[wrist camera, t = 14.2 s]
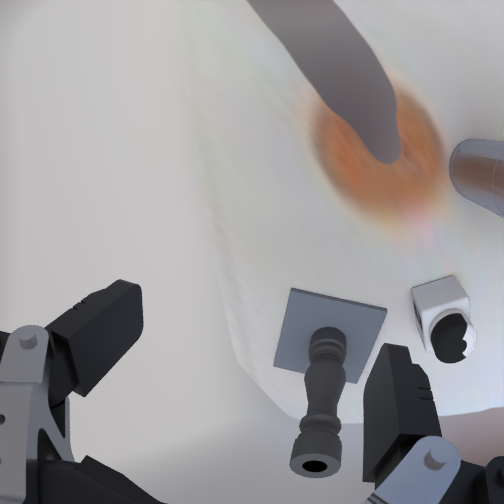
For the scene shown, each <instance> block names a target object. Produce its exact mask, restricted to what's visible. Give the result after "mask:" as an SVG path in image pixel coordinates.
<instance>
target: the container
mask: <svg viewBox="0 0 504 504" xmlns="http://www.w3.org/2000/svg"><path fill="white" fill-rule="evenodd" d="M411 292H412V298H413V304H414V311H415V317H416V324H417V328H418V331H419V334H420V337H421V339H422V342H423V345H424V348H425V351H426V352H431V351H434V352H435V355H436V357H437V358H438V360H440V361H441V362H444V363H456V362H459V361H461V360H463V359H465V358H466V357H467V356H468V355H469V354H470V353H471V352H472V351H473V349H474V347H475V345H476V342H477V332H476V330H475V328H474V326H473V325H472V323H471V321H470V303H469V296H468V295H467V293H466V292H465V291H464V289H463V288H462V287H461V285H460V284H459V283H458V281H457V280H456V279H455V277H454V276H450V277H447V278H443V279H440V280H437V281H434V282H431V283H428V284H424V285H421V286H418V287H414V288H412V289H411Z"/></svg>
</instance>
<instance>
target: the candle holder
mask: <svg viewBox="0 0 504 504" xmlns="http://www.w3.org/2000/svg"><path fill="white" fill-rule="evenodd" d="M308 354H309V361H310V366H309V367H308V369H307V370H306V373H305V377H304V381H305V386H306V392H307V398H308V409H307V415H306V416H304V417H303V418H302V419H301V422H300V425H299V428H300V431H301V432H302V433H300V434H299V435H298V438H297V439H295V442H294V445H293V450H292V454H291V460H290V464H289V465H290V468H291V470H292V471H294V472H295V473H296V474H299V475H301V476H304V477H309V478H323V477H328V476H331V475H333V474H335V473H337V472H338V470H339V469H340V465H341V453H342V444H341V441H340V439H339V436H338V435H337V434H338V433H339V431H340V430H341V422H340V420H339V418H338V417H337V404H338V401H339V399H340V396H341V393H342V391H343V388H344V385H345V382H346V372H345V369H344V368H343V367H342V366H343V364H344V361H345V357H346V354H347V344H346V336H345V335H344V334H343V332H342V331H340V330H339V329H337V328H334V327H323V328H320V329H318V330H316V331H315V332H314V333H313V335H312V336H311V340H310V345H309V351H308Z"/></svg>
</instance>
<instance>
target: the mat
mask: <svg viewBox="0 0 504 504" xmlns="http://www.w3.org/2000/svg"><path fill="white" fill-rule="evenodd" d="M386 314H387V309H386V308H381V307H376V306H372V305H367V304H362V303H358V302H353V301H348V300H344V299H339V298H335V297H330V296H325V295H321V294H317V293H312V292H308V291H303V290H299V289H294V288H291V292H290V297H289V301H288V306H287V310H286V314H285V319H284V323H283V327H282V332H281V336H280V340H279V344H278V348H277V352H276V357H275V361H274V365H273V366H274V367H278V368H283V369H287V370H291V371H296V372H300V373H306V370H307V369H308V367H309V366H310V361H309V354H308V351H309V345H310V340H311V336H312V335H313V333H314V332H315V331H316V330H318V329H320V328H323V327H334V328H337V329H339V330H340V331H342V332H343V334H344V335H345V336H346V344H347V354H346V357H345V361H344V364H343V366H342V367H343V368H344V369H345V372H346V382H350V383H355V384H357V382H358V380H359V378H360V376H361V374H362V372H363V369H364V367H365V365H366V363H367V360H368V358H369V356H370V354H371V351H372V349H373V347H374V344H375V342H376V339H377V337H378V334H379V332H380V329H381V327H382V324H383V322H384V319H385V317H386Z"/></svg>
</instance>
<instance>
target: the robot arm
mask: <svg viewBox="0 0 504 504" xmlns="http://www.w3.org/2000/svg"><path fill="white" fill-rule="evenodd" d="M450 176H451V180H452V182H453V185H454V187H455V188H456V190H457V191H458V192H459V193H460V194H461V195H462V196H464V197H465V198H467V199H469V200H471V201H473V202H475V203H476V204H478V205H480V206H482V207H484V208H486V209H488V210H490V211H492V212H494V213H495V214H497V215H499V216H501V217H503V218H504V141H496V140H481V139H470V140H466V141H464V142H462V143H461V144H459V145H458V146H457V147H456V149H455V150H454V152H453V154H452V157H451V160H450ZM142 330H143V307H142V291H141V287H140V286H139V285H138V284H134V283H131V282H127V281H124V280H121V279H119V280H117V281H115V282H114V283H112V284H111V285H110V286H108V287H107V288H106V289H102V290H99V291H97V292H94V293H91V294H90V295H88V296H87V297H85V298H84V299H83V300H81V302H78V303H77V304H76V305H74V306H73V308H70V309H69V310H68V311H66V312H65V313H64V314H62V315H61V316H59V317H58V318H57V319H56V320H54V321H53V322H52V323H50V324H49V325H47V326H46V327H45V328H43V327H41V326H36V325H27V326H23V327H20V328H18V329H16V330H15V331H14V332H12V333H7V332H2V331H0V504H165V503H162V502H160V501H158V500H156V499H155V498H153V497H152V496H150V495H149V494H148V493H146V492H145V491H144V490H142V489H141V488H140V487H138V486H137V485H136V484H134V483H133V482H132V481H131V480H129V479H128V478H127V477H125V476H124V475H123V474H121V473H119V472H117V471H115V470H113V469H111V468H110V467H108V466H106V465H104V464H102V463H100V462H98V461H97V460H95V459H93V458H91V457H89V456H88V455H86V456H85V458H84V459H83V460H82V462H81V463H78V462H75V461H74V457H73V454H72V451H71V445H70V418H69V417H70V415H69V414H70V413H69V412H70V408H69V405H70V402H69V398H68V395H69V394H70V393H71V392H72V391H74V392H75V393H77V394H79V395H81V396H83V397H86V395H87V394H88V393H89V392H90V391H91V390H92V389H93V388H94V387H95V386H96V385H97V383H98V382H99V381H100V380H101V379H102V378H103V377H104V376H105V375H106V374H107V373H108V371H109V370H110V369H111V368H112V367H113V366H114V365H115V364H116V363H117V362H118V361H119V360H120V358H121V357H122V356H123V355H124V354H125V353H126V352H127V351H128V350H129V349H130V348H131V347H132V346H133V344H134V343H135V342H136V341H137V340H138V339H139V337H140V336H141V333H142ZM430 390H431V387H430V383H429V379H428V376H427V375H426V373H425V372H424V371H423V369H422V368H421V367H420V365H419V364H412V361H411V357H410V353H409V349H408V347H407V346H401V345H394V344H389V343H384V344H383V345H382V347H381V349H380V352H379V354H378V356H377V359H376V361H375V363H374V366H373V368H372V370H371V372H370V375H369V377H368V379H367V382H366V385H365V389H364V395H363V407H364V451H363V454H364V455H363V482H372V483H374V482H375V491H374V492H373V493H372V494H371V495H370V496H369V497H368V499H367V500H366V501H365V502H364V503H363V504H504V456H498V457H495V458H493V459H492V460H491V461H490V462H489V463H488V464H487V465H486V466H485V467H483V466H479V465H476V464H472V463H469V462H465V461H463V460H461V459H460V454H459V452H458V450H457V449H456V447H455V446H454V445H453V444H452V443H451V442H450V441H448V440H446V439H444V438H442V434H441V429H440V424H439V420H438V415H437V411H436V407H435V403H434V401H433V395H432V391H430Z"/></svg>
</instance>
